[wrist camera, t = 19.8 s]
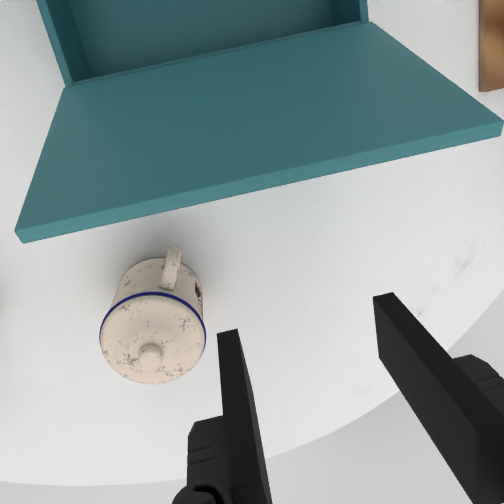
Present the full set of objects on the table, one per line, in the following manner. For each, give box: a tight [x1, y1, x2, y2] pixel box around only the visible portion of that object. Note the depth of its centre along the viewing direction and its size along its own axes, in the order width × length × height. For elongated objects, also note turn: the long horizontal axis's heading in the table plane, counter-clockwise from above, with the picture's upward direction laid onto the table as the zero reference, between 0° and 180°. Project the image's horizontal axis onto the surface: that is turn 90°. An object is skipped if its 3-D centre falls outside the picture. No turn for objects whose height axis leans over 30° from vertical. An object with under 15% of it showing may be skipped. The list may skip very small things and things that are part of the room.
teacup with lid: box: [99, 246, 206, 384], centre depth 41 cm, size 12×9×12 cm
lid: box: [15, 22, 504, 243], centre depth 26 cm, size 16×22×1 cm
